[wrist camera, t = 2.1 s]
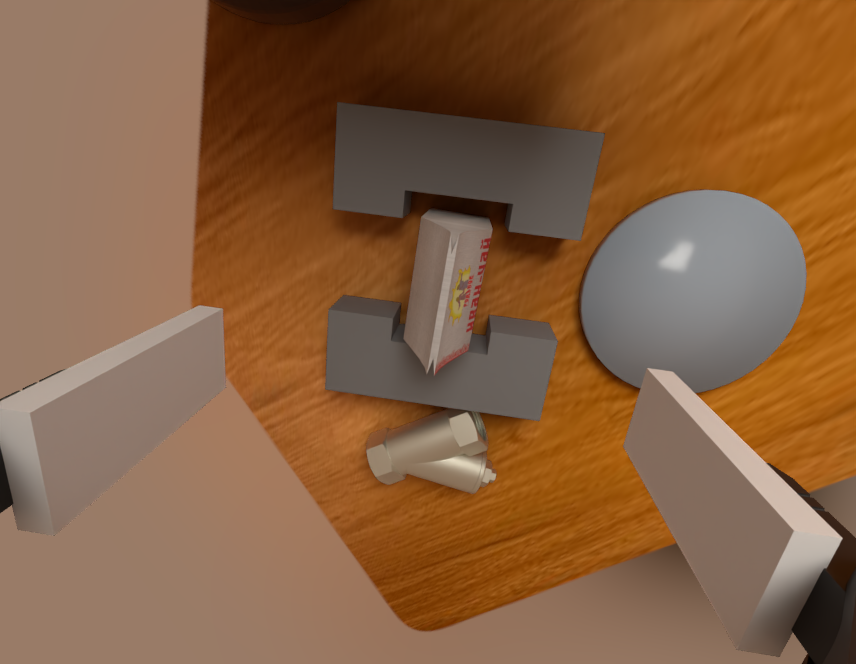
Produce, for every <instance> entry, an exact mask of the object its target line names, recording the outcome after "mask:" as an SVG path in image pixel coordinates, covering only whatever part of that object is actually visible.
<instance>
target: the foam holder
mask: <svg viewBox="0 0 856 664" xmlns="http://www.w3.org/2000/svg"><path fill="white" fill-rule="evenodd" d="M604 136H605V133H599V132H590V131H582V130H573V129H564V128H556V127H547V126H539V125H530V124H521V123H513V122H504V121H496V120H487V119H478V118H470V117H461V116H453V115H444V114H435V113H427V112H418V111H410V110H401V109H392V108H384V107H375V106H367V105H358V104H349V103H341V102H337V119H336V143H335V167H334V191H333V209H336V210H344V211H352V212H359V213H367V214H375V215H383V216H391V217H398V218H403V217H404V216H406V215H407V214H409V213H410V210H411V200H412V191H414V192H422V193H430V194H438V195H446V196H454V197H462V198H470V199H478V200H486V201H494V202H502V203H508V206H507V212H506V218H505V224H504V225H505V227H506V228H507V230H508V232H516V233H524V234H531V235H539V236H547V237H555V238H563V239H571V240H578V241H581V237H582V233H583V228H584V224H585V219H586V215H587V211H588V206H589V202H590V197H591V193H592V189H593V184H594V180H595V175H596V171H597V167H598V162H599V158H600V153H601V149H602V145H603V140H604ZM400 312H401V303H399V302H392V301H385V300H377V299H370V298H363V297H355V296H348V295H343V296H342V297H341V298H340V299H339V300H338V301H337V302H336V303H335V304H334V305H333V306H332V307H331V308H330V309H329V311H328V335H327V359H326V383H325V389H326V390H332V391H339V392H346V393H353V394H360V395H366V396H373V397H380V398H387V399H394V400H400V401H407V402H414V403H421V404H428V405H434V406H441V407H448V408H455V409H462V410H468V411H475V412H482V413H489V414H495V415H502V416H509V417H516V418H523V419H529V420H536V421H540V417H541V413H542V408H543V404H544V400H545V395H546V391H547V386H548V382H549V378H550V373H551V369H552V364H553V360H554V356H555V351H556V347H557V342H558V341H557V339H556V337H555V335H554V333H553V331H552V329H551V327H550V325H549V323H545V322H538V321H531V320H523V319H516V318H509V317H502V316H494V315H489V319H488V325H487V331H486V335H478V334H471V339H470V344H469V349H468V351H466V352H465V353H463V354H461V355H460V356H458V357H456V358H455V359H453V360H451V361H450V362H448V363H447V364H445V365H444V366H443V367H442V368H440V369H439V370H438V371H437V373H436V374H435V375H434V360H432V363H431V365H430V368H429V370H428V373H427V374H426V370H425V367H424V366H423V364H422V362H421V361H420V359H419V358H418V356H417V355H416V354H415V353H414V351H413V350H412V349H411V348H410V346H409V345H408V344H407V343H406V341H405V340H404V339H403V338H404V331H405V324H399V322H400Z"/></svg>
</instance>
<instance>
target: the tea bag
mask: <svg viewBox="0 0 856 664" xmlns="http://www.w3.org/2000/svg"><path fill="white" fill-rule="evenodd" d="M492 230H493V228H492V225H491V222H490V219H489V218H488V217H482V216H476V215H470V214H464V213H459V212H453V211H447V210H441V209H435V208H431V209H429V210H428V211H427V212H426V213H425V214H424V215H423V216H422V217H421V222H420V229H419V236H418V243H417V250H416V256H415V263H414V270H413V277H412V284H411V290H410V297H409V304H408V311H407V318H406V324H405V331H404V338H403V339H404V340H405V341H406V343H407V344H408V345H409V346H410V348H411V349H412V350H413V351H414V353H415V354H416V355H417V356H418V358H419V359H420V361H421V362H422V364H423V366H424V367H425V370H426V374H427V373H428V370H429V368H430V365H431V363H432V360H434V375H435V374H436V373H437V371H438V370H439V369H440V368H442V367H443V366H444V365H445V364H447V363H448V362H450V361H451V360H453V359H455V358H456V357H458V356H460V355H461V354H463V353H465V352H466V351H468V349H469V344H470V339H471V334H472V329H473V324H474V319H475V314H476V309H477V304H478V299H479V294H480V290H481V285H482V280H483V275H484V270H485V265H486V260H487V255H488V250H489V245H490V240H491V235H492Z"/></svg>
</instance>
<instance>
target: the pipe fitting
mask: <svg viewBox="0 0 856 664" xmlns="http://www.w3.org/2000/svg"><path fill="white" fill-rule="evenodd" d="M487 449H488V436H487V432H486V428H485V425H484V423H483V420H482V417H481V415H480V413H479V412H475V411H468V410H462V409H455V408H448V409H445V410H443V411H440V412H437V413H435V414H432V415H430V416H427V417H424V418H422V419H419V420H416V421H414V422H411V423H409V424H406V425H403V426H401V427H398V428H396V429H393V430H391V429H389V428H387V427H386V428H384V429H381V430H378V431H376V432H373V433H371V434H370V436H369V438H368V441H367V445H366V453H367V458H368V462H369V465H370V468H371V470H372V472H373V474H374V475H375V477H376V478H377V479H378V480H379V481H380V482H382V483H384V484H388V485H390V484H393V483H396V482H398V481H401V480H404V479H405V478H406V475H407V474H410V475H413V476H416V477H419V478H423V479H426V480H429V481H432V482H435V483H439V484H442V485H445V486H448V487H452V488H455V489H458V490H461V491H465V492H468V493H471V494H474V493H476V492H477V490H478V489H479V487H480V486H481V487H484V486H486V485H487V484H488V482H491V483H492V482H494V480H495V478H496V469H492V463H491V461H490V460H487V453H486V451H487Z"/></svg>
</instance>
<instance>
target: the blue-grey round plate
mask: <svg viewBox="0 0 856 664" xmlns="http://www.w3.org/2000/svg"><path fill="white" fill-rule="evenodd" d="M805 289H806V265H805V259H804V255H803V251H802V247H801V245H800V243H799V241H798V239H797V236H796V234H795V233H794V232H793V230H792V229H791V227H790V226H789V224H788V223H787V222H786V221H785V220H784V219H783V218H782V217H781V216H780V215H779V214H778V213H777V212H776V211H774V210H773V209H772V208H770V207H769V206H768V205H766V204H764V203H762V202H760V201H758V200H756V199H754V198H751V197H748V196H745V195H743V194H739V193H734V192H728V191H719V190H690V191H683V192H678V193H673V194H670V195H667V196H664V197H661V198H658V199H655V200H653V201H651V202H649V203H647V204H645V205H643V206H641V207H640V208H638V209H636V210H635V211H633V212H632V213H630V214H629V215H627V216H626V217H625V218H624V219H622V220H621V221H620V222H619V223H617V224H616V225H615V226H614V227H613V228H612V229H611V230H610V231H609V232H608V233H607V235H606V236H605V237H604V238H603V240H602V241H601V242H600V244H599V245H598V246H597V248H596V250H595V251H594V253H593V255H592V256H591V258H590V260H589V263H588V265H587V267H586V269H585V272H584V275H583V279H582V282H581V288H580V294H579V313H580V321H581V324H582V328H583V332H584V334H585V336H586V339H587V341H588V343H589V345H590V346H591V348H592V349H593V351H594V353H595V354H596V356H597V357H598V358H599V360H600V361H601V362H602V363H603V364H604V365H605V367H606V368H608V369H609V370H610V371H611V372H612V373H613V374H614V375H616V376H617V377H619V378H620V379H622V380H623V381H625V382H627V383H629V384H631V385H633V386H635V387H638V388H641V386H642V382H643V379H644V376H645V373H646V369H647V368H651V369H658V370H665V371H672V372H674V373H675V374H676V375H677V376H678V377H679V378H680V379H681V380H682V381H683V382H684V383H685V384H686V385H687V386H688V387H689V388H690V389H691V390H692V391H693V392H694V393H698V392H703V391H707V390H711V389H715V388H718V387H721V386H723V385H726V384H729V383H731V382H733V381H735V380H737V379H739V378H741V377H742V376H744V375H746V374H747V373H749V372H750V371H752V370H754V369H755V368H756V367H757V366H759V365H760V364H761V363H763V362H764V361H765V360H766V359H767V358H768V357H769V356H770V355H771V354H772V353H773V352H774V351H775V350H776V349H777V348H778V347H779V345H780V344H781V343H782V342H783V341H784V339H785V338H786V336H787V335H788V333H789V332H790V330H791V329H792V327H793V325H794V323H795V321H796V319H797V317H798V315H799V312H800V309H801V306H802V303H803V299H804V294H805Z"/></svg>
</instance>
